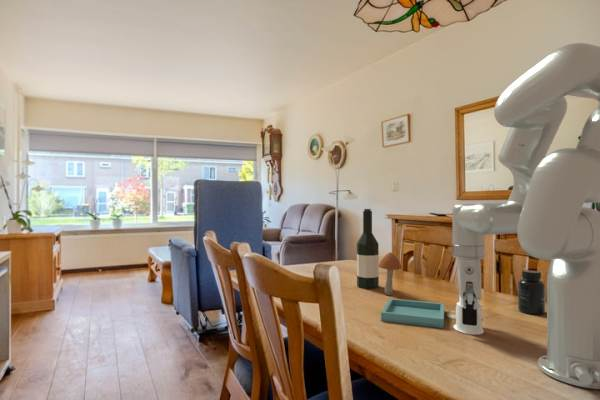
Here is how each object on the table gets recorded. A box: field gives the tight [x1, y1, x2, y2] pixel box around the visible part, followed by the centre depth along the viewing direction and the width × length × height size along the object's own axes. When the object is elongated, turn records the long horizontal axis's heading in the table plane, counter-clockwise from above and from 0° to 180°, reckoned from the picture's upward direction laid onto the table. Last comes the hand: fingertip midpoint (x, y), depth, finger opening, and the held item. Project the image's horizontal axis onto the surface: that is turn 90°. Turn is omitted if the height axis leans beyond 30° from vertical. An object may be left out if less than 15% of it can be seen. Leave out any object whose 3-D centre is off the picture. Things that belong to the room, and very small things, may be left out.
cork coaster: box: [445, 310, 456, 321], centre depth 105 cm, size 9×9×1 cm
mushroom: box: [379, 252, 403, 296], centre depth 131 cm, size 8×8×15 cm
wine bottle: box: [356, 208, 380, 290], centre depth 144 cm, size 8×8×30 cm
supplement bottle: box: [517, 269, 546, 316], centre depth 110 cm, size 7×7×12 cm
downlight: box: [453, 295, 485, 336], centre depth 95 cm, size 8×7×10 cm
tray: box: [380, 297, 445, 329], centre depth 106 cm, size 16×16×2 cm
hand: (468, 318), depth 95 cm, fingers open, 9 cm apart
